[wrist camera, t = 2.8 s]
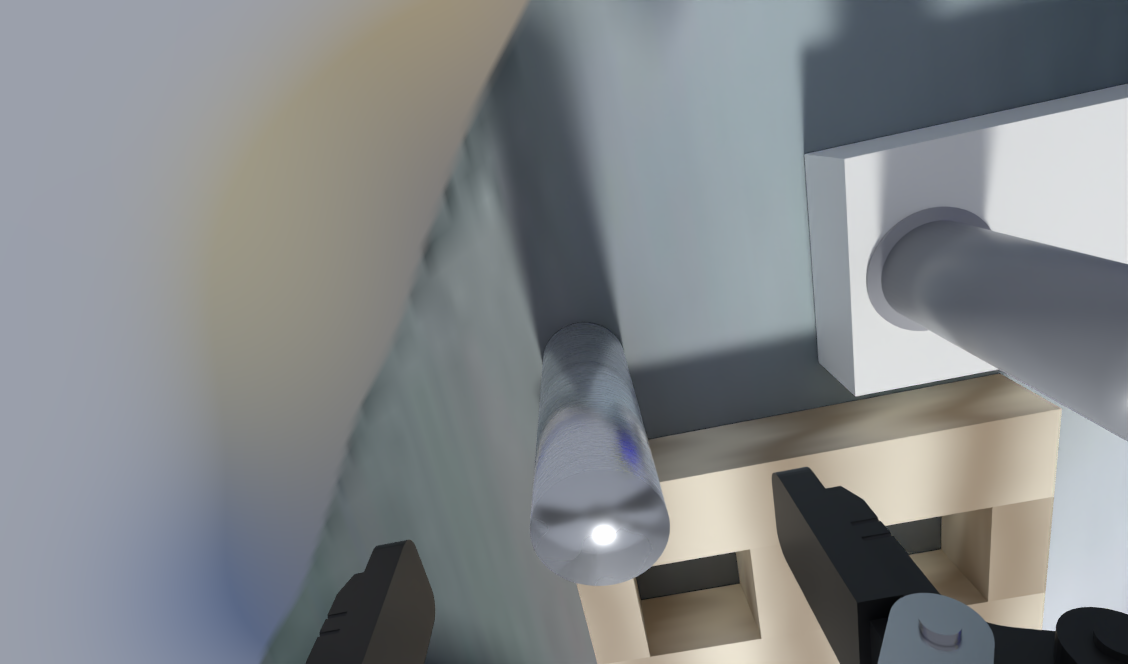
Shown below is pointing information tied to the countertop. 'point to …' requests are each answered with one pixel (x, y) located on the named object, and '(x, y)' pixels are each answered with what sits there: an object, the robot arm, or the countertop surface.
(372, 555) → the robot arm
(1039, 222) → the block
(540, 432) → the steel pin
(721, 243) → the countertop surface
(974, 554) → the pin board
